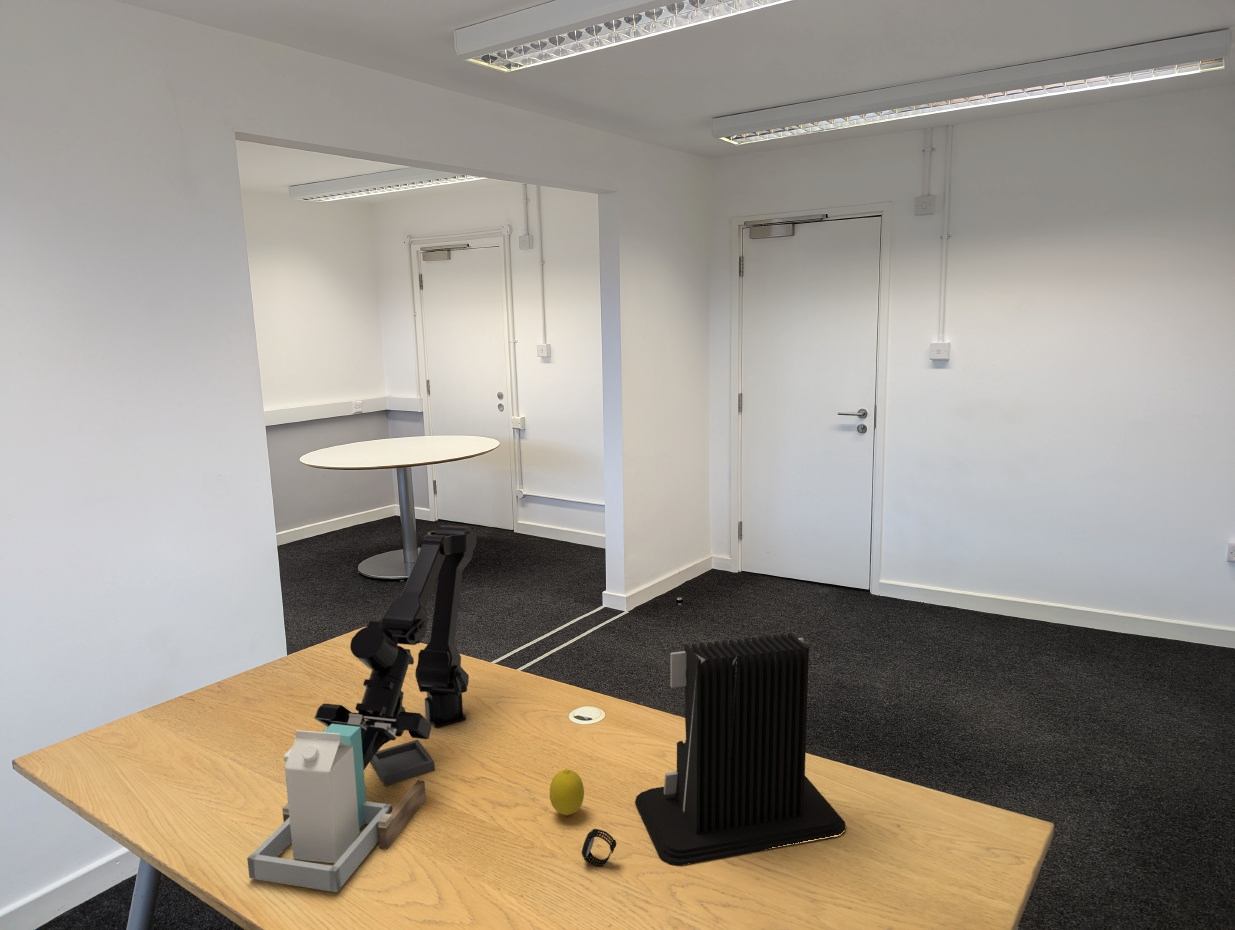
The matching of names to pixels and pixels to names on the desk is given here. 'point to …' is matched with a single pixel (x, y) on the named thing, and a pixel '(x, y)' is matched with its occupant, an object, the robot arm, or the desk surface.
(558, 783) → the lemon
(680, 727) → the desk surface
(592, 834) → the smartwatch
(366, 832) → the tray
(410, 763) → the tray
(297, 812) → the milk carton
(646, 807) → the black ribbed block
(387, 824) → the channel
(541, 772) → the desk surface
